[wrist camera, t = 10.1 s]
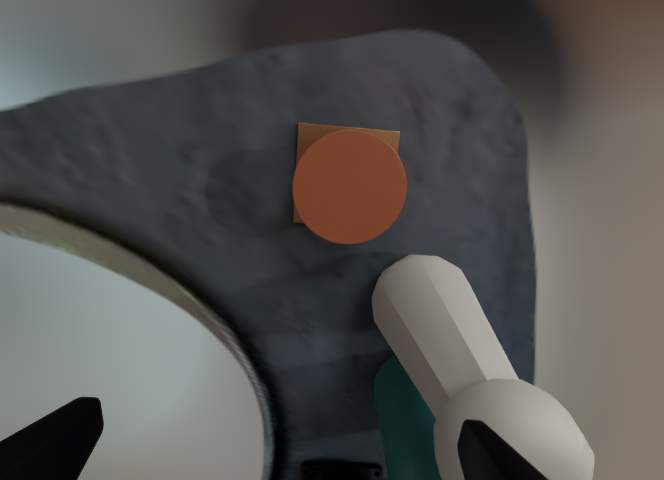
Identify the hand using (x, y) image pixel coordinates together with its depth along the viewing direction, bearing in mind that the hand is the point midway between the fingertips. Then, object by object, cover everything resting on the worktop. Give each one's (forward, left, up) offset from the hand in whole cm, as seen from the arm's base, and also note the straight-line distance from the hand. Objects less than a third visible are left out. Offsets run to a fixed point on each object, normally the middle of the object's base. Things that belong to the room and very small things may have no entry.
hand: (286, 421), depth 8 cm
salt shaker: (-2, -7, -13) cm, 15 cm away
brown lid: (+5, -2, -12) cm, 13 cm away
